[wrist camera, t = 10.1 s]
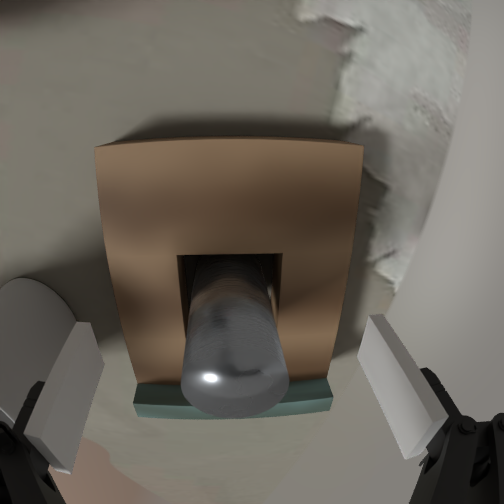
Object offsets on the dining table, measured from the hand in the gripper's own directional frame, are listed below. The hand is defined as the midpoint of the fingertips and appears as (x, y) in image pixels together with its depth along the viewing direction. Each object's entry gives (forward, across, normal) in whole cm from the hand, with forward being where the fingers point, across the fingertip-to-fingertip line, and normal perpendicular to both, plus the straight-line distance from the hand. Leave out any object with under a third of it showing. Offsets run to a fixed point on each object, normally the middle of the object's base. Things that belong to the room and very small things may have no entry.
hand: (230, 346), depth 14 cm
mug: (+8, -18, -4) cm, 20 cm away
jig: (+8, 0, 0) cm, 8 cm away
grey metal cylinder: (+8, 0, 0) cm, 8 cm away
